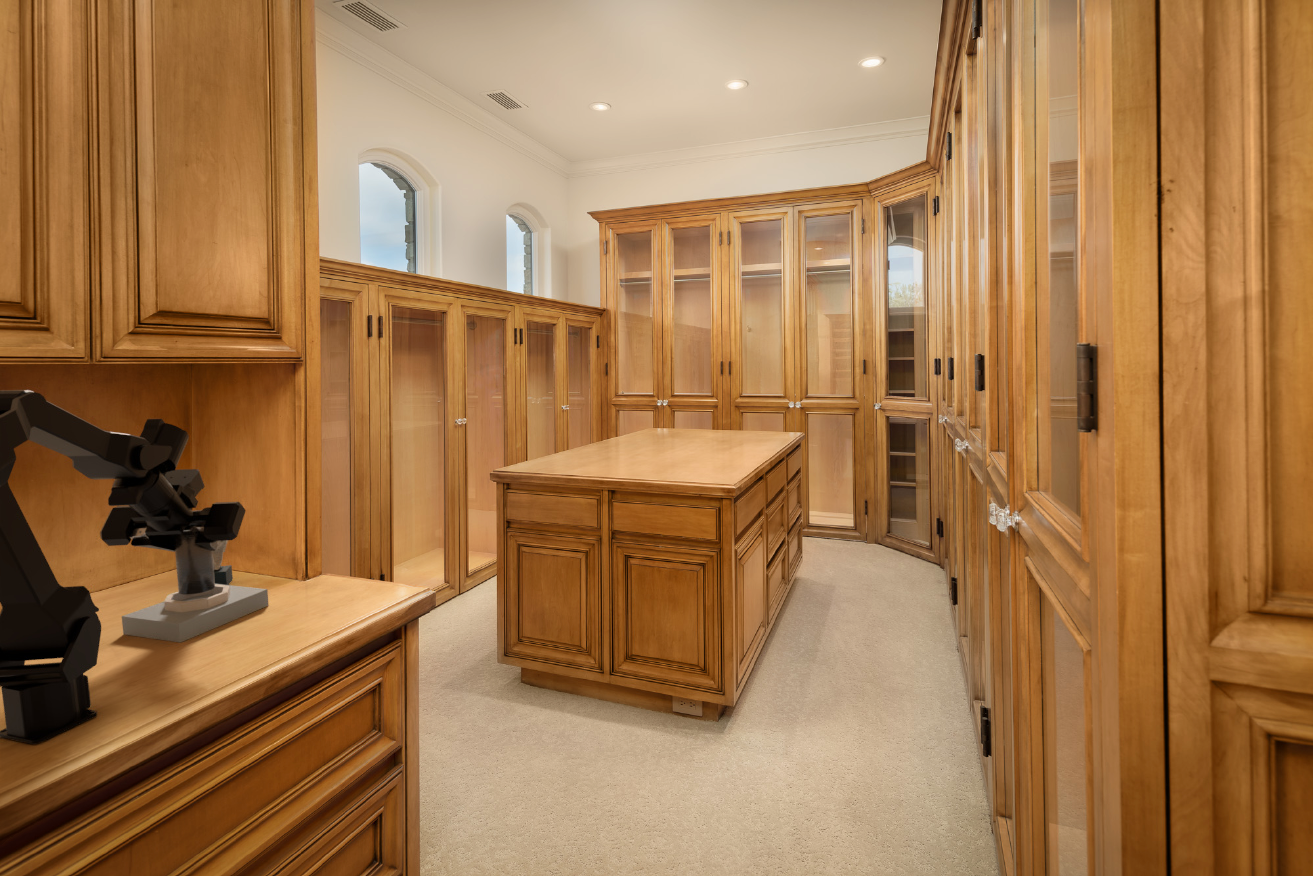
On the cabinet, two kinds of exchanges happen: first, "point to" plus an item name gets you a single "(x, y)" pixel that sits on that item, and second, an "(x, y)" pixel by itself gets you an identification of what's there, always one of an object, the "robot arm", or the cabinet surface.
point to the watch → (221, 572)
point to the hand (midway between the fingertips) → (198, 549)
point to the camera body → (194, 612)
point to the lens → (193, 564)
